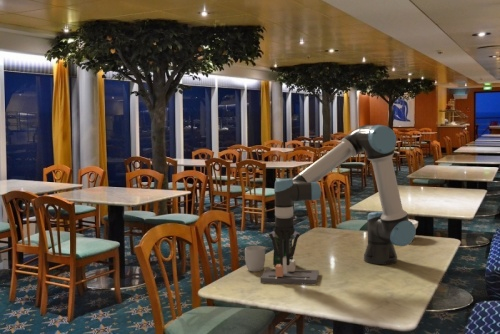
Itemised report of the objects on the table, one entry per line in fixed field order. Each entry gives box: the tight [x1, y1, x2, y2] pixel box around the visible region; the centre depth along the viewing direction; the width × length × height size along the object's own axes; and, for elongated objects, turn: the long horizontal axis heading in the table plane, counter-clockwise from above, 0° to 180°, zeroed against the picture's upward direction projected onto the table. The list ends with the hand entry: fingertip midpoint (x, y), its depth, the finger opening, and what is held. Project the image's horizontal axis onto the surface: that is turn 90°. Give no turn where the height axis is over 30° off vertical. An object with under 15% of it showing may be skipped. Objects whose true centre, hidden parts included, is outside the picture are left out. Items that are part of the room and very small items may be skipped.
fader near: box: [274, 264, 284, 277], centre depth 228 cm, size 3×4×4 cm
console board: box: [259, 268, 320, 285], centre depth 232 cm, size 23×15×2 cm, turn 79°
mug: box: [244, 245, 266, 273], centre depth 248 cm, size 13×9×10 cm
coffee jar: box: [272, 227, 294, 267], centre depth 252 cm, size 10×8×19 cm
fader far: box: [287, 258, 296, 272], centre depth 236 cm, size 3×4×4 cm
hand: (285, 272), depth 228 cm, fingers closed
